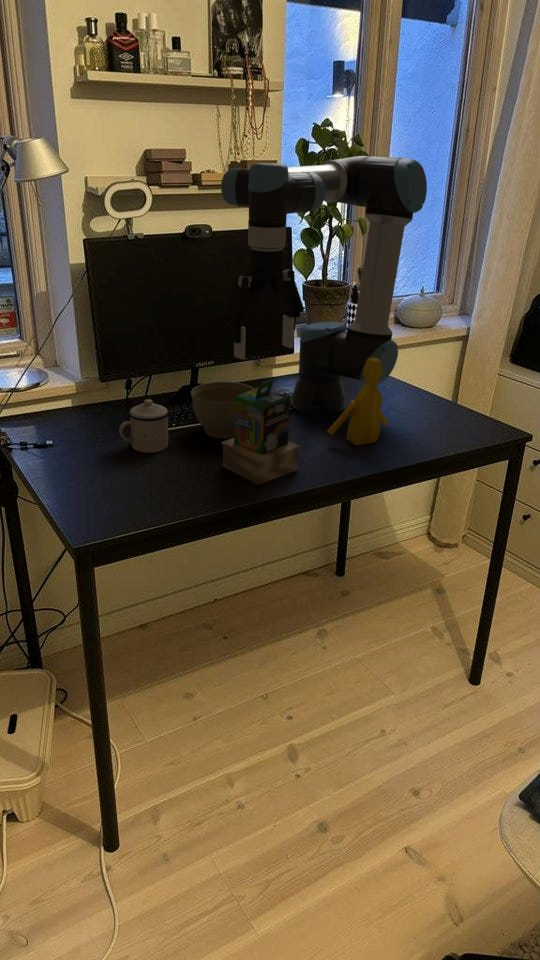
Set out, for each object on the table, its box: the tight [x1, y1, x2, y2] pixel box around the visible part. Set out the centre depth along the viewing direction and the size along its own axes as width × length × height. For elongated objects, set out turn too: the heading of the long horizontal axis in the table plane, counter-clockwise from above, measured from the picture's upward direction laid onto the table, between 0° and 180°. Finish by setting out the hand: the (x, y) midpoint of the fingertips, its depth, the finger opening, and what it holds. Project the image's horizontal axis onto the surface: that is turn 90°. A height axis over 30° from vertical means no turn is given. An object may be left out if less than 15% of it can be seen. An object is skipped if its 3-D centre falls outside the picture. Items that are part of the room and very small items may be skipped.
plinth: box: [220, 438, 302, 485], centre depth 164 cm, size 13×13×6 cm
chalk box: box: [234, 379, 292, 455], centre depth 160 cm, size 9×9×15 cm
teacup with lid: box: [118, 398, 169, 454], centre depth 172 cm, size 12×9×12 cm
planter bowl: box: [190, 381, 254, 439], centre depth 182 cm, size 16×16×11 cm
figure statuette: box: [326, 357, 389, 446], centre depth 177 cm, size 18×8×22 cm, turn 116°
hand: (264, 352), depth 154 cm, fingers open, 13 cm apart
